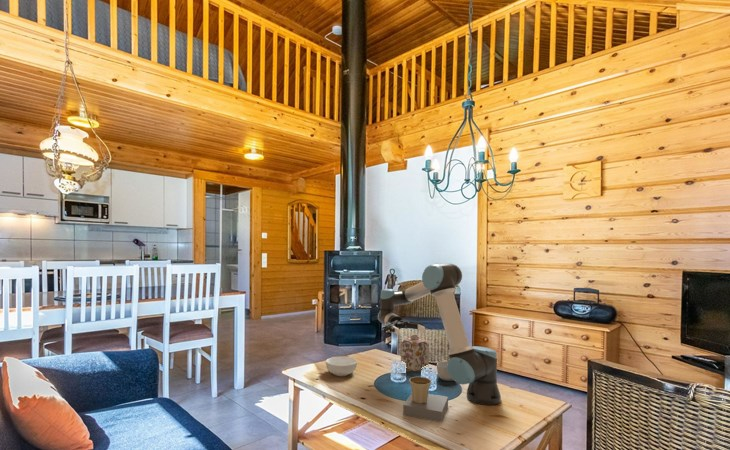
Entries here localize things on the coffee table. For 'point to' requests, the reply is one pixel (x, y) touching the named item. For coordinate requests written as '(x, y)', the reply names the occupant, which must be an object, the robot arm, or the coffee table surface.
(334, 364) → the cereal bowl
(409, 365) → the decorative jar
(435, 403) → the plinth
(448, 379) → the teacup
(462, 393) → the coffee table surface
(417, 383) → the flower pot
